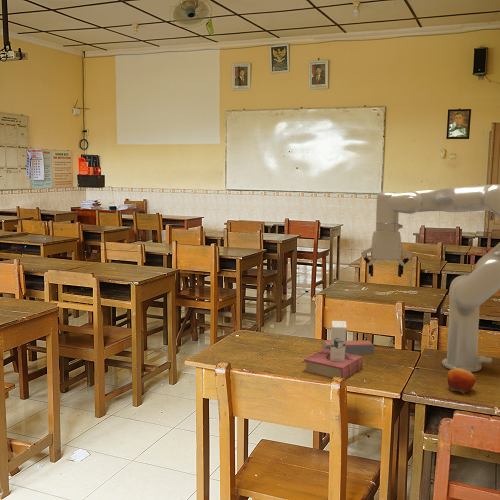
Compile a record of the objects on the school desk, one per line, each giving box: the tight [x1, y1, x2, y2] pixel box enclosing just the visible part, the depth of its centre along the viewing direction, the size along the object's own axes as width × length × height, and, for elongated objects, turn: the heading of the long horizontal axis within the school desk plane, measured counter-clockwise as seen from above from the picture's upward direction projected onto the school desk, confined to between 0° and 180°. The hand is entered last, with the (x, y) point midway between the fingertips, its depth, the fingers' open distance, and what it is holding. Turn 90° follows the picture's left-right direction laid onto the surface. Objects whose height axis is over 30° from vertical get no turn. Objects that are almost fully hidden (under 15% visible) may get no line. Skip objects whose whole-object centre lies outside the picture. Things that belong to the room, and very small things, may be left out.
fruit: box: [446, 368, 477, 396], centre depth 163 cm, size 8×8×8 cm
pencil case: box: [322, 340, 375, 355], centre depth 202 cm, size 18×6×3 cm, turn 93°
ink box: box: [330, 320, 347, 362], centre depth 180 cm, size 9×5×12 cm, turn 172°
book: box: [303, 348, 364, 379], centre depth 181 cm, size 14×15×5 cm
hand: (385, 276), depth 189 cm, fingers open, 9 cm apart
